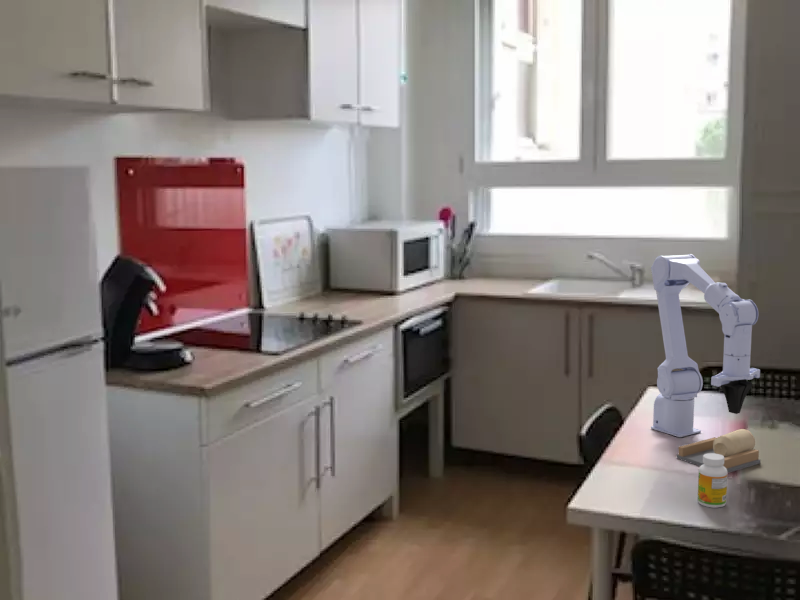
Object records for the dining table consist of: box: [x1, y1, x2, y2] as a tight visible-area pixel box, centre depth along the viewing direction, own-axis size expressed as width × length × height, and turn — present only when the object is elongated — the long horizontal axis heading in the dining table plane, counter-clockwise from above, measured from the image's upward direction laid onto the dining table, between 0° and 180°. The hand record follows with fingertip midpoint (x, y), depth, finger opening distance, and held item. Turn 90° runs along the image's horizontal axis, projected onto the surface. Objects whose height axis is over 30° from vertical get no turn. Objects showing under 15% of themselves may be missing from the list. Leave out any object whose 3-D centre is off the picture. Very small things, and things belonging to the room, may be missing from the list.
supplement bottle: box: [697, 453, 728, 509], centre depth 183 cm, size 5×5×10 cm
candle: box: [713, 428, 756, 458], centre depth 208 cm, size 6×6×10 cm
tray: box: [676, 437, 761, 474], centre depth 208 cm, size 13×12×3 cm
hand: (734, 412), depth 210 cm, fingers closed
